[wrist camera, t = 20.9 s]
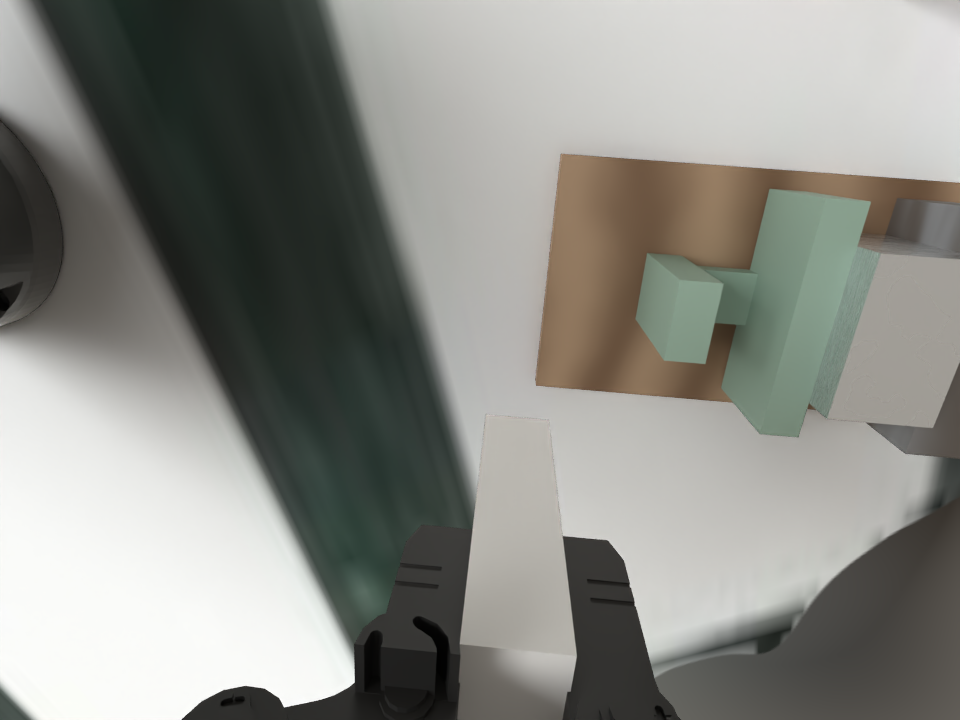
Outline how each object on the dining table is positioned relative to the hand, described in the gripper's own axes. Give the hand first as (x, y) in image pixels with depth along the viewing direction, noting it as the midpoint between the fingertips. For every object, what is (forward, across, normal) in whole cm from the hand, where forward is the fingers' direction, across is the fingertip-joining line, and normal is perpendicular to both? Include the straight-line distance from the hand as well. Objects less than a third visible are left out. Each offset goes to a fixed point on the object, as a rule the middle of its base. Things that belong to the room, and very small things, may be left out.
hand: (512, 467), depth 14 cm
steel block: (+21, +18, 0) cm, 28 cm away
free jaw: (+21, +11, 0) cm, 24 cm away
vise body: (+22, +13, 0) cm, 26 cm away
